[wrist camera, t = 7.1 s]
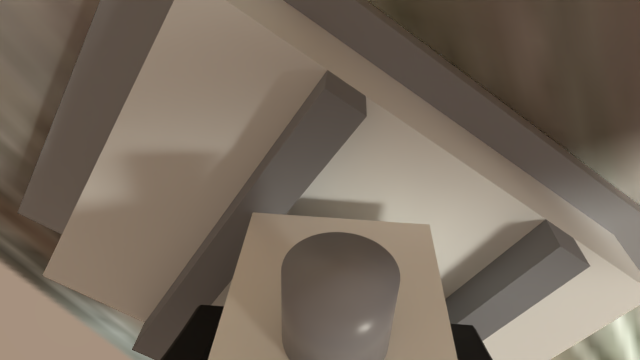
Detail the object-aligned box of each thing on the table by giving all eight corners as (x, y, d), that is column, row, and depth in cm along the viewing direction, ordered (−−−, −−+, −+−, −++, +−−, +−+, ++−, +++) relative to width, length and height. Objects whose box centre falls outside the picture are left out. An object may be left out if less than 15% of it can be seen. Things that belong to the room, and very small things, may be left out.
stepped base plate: (665, 225, 16) (764, 337, 12) (424, 389, 21) (438, 500, 18) (172, -146, 11) (75, -156, 7) (34, 196, 17) (-60, 290, 13)
